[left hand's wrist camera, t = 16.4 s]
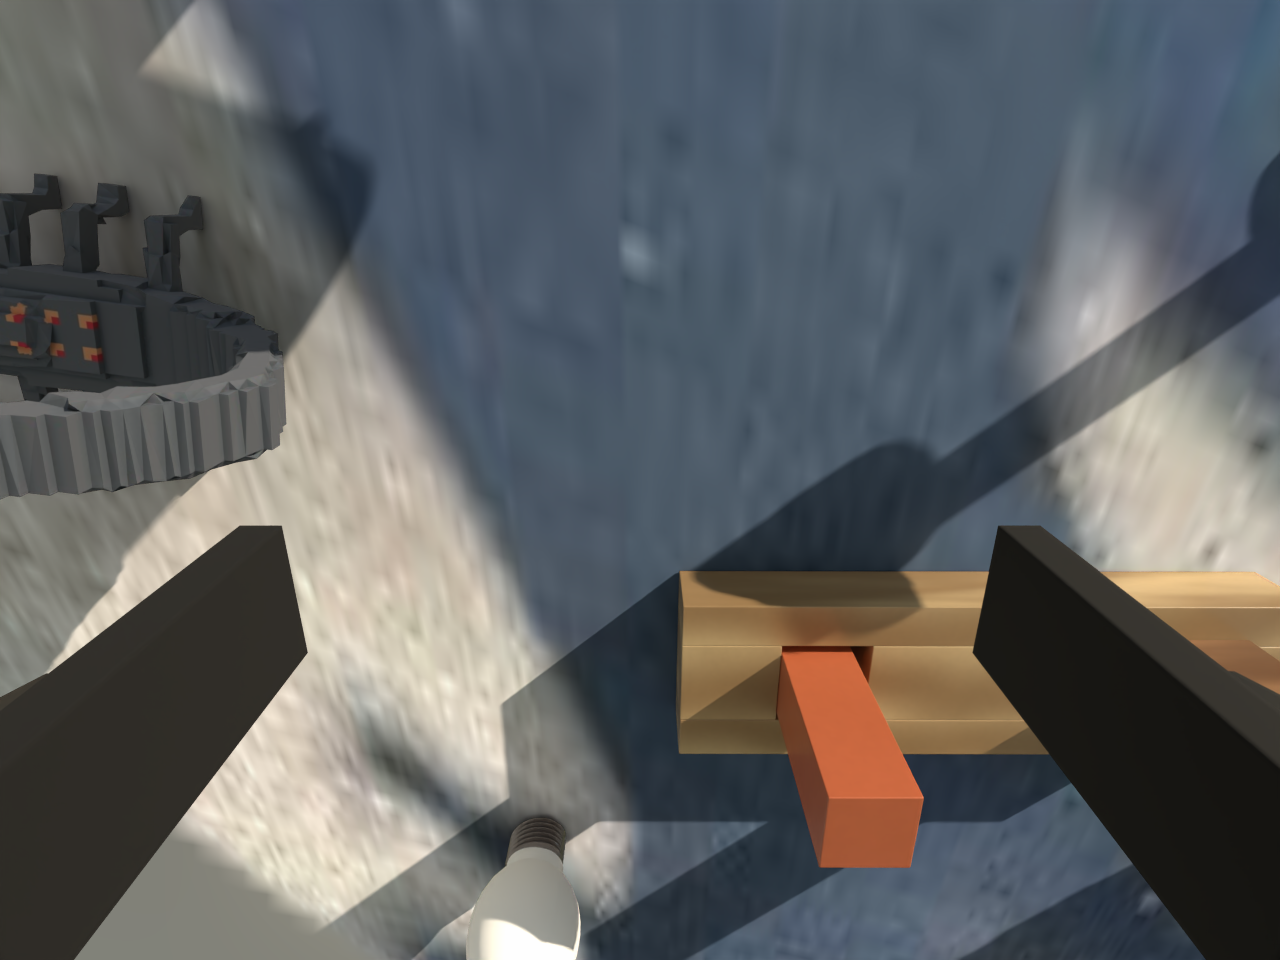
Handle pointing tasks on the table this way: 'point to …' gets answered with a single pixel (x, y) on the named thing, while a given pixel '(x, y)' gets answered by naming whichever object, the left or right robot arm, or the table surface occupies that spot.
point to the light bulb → (527, 901)
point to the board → (914, 649)
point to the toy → (123, 359)
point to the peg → (845, 762)
